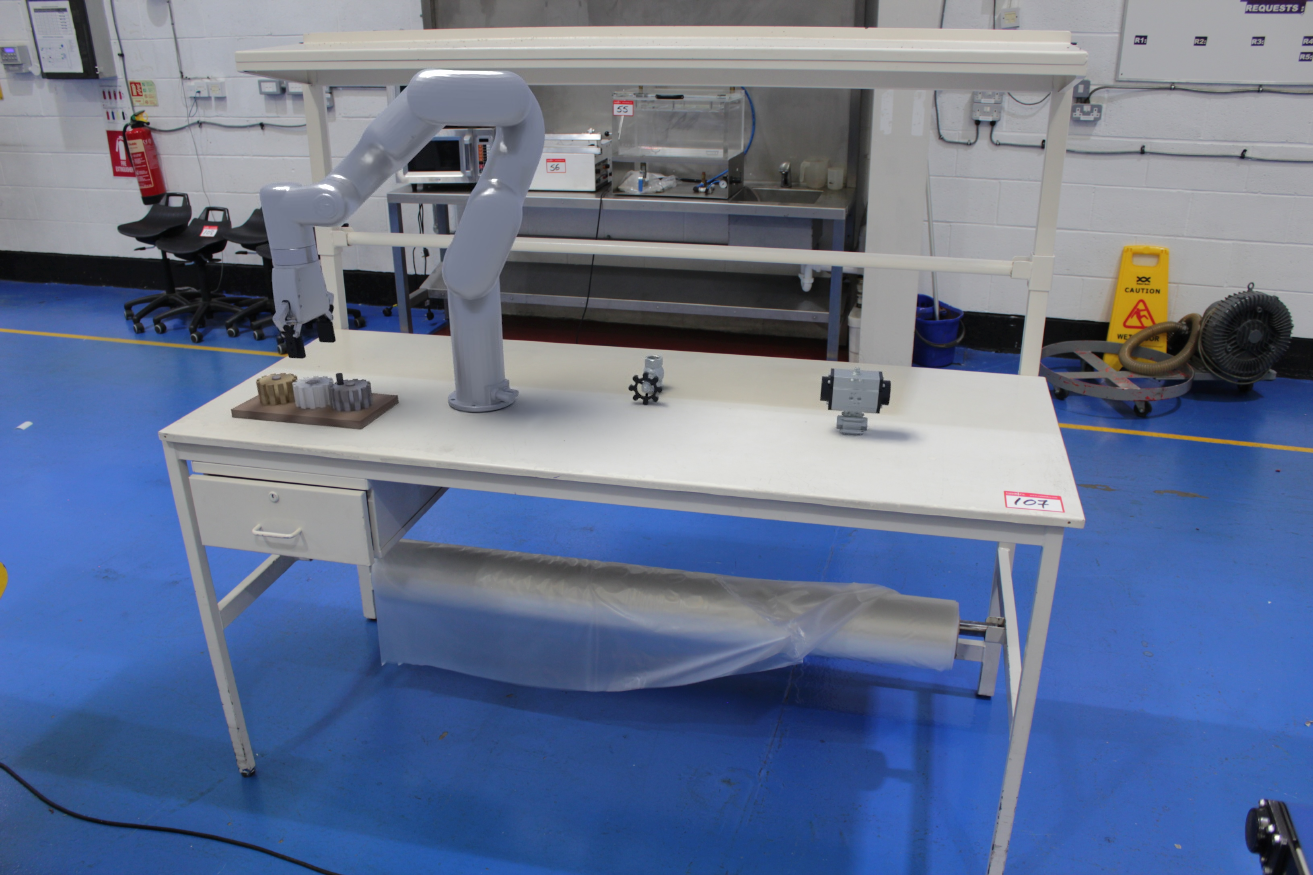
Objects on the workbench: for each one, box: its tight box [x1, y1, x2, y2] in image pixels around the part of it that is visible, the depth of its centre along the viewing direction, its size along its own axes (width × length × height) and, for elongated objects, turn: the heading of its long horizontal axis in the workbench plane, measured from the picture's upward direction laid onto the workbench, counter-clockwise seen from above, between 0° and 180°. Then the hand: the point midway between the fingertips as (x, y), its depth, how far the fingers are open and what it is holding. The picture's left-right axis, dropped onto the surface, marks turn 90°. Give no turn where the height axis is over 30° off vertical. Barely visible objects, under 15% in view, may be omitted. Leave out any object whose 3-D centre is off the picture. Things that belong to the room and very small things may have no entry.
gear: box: [292, 375, 335, 409], centre depth 163 cm, size 7×7×4 cm
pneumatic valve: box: [819, 366, 892, 436], centre depth 153 cm, size 6×12×12 cm, turn 79°
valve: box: [628, 354, 665, 406], centre depth 172 cm, size 7×7×12 cm
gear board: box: [230, 372, 400, 430], centre depth 163 cm, size 26×14×8 cm, turn 78°
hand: (313, 349), depth 160 cm, fingers open, 9 cm apart
